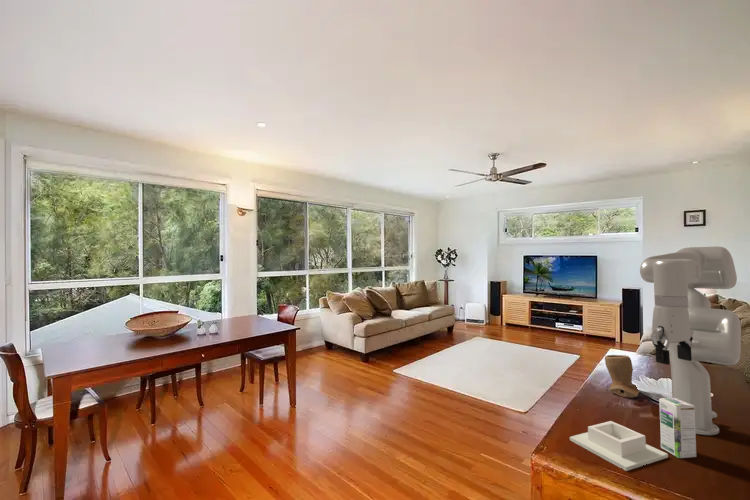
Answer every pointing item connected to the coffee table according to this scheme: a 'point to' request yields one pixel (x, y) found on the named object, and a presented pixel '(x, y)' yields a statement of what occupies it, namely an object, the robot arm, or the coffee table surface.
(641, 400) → the coffee table surface
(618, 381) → the tan boot
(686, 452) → the syrup box
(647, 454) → the dock socket
